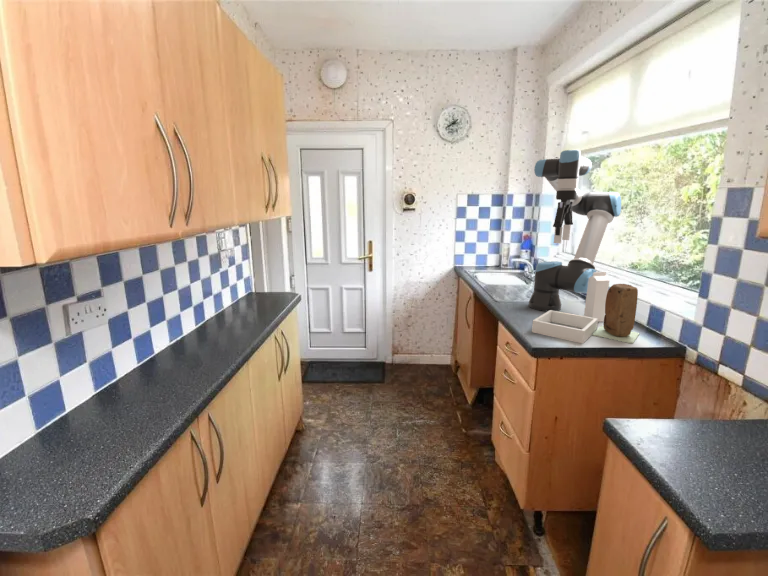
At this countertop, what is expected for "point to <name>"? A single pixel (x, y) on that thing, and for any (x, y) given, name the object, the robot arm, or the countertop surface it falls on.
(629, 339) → the mat
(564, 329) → the holder
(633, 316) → the brown rough stone
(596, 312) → the milk
